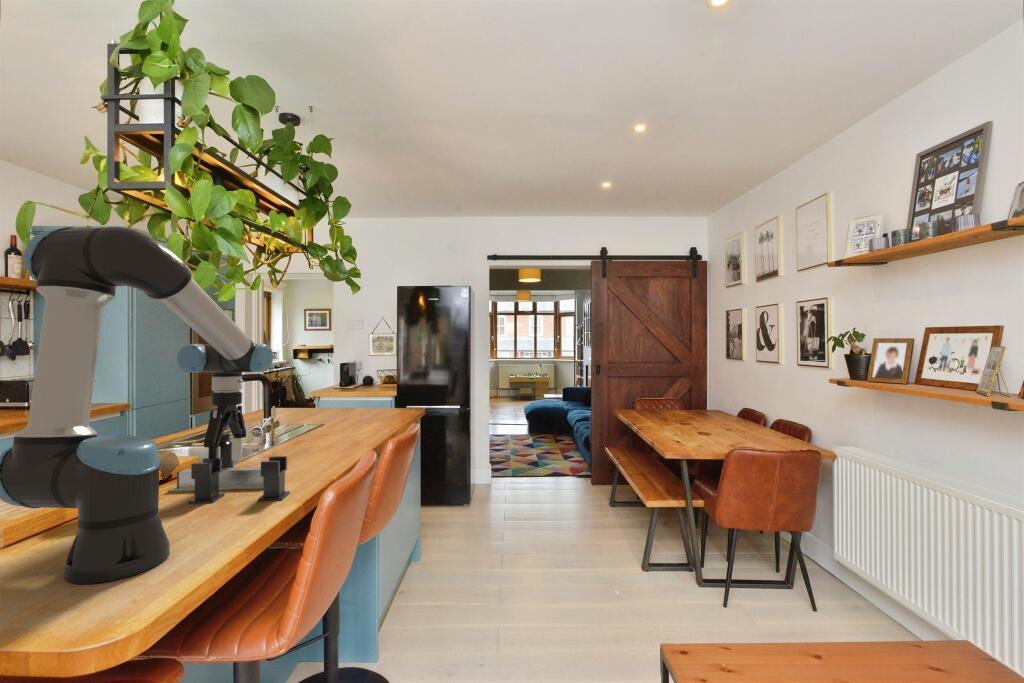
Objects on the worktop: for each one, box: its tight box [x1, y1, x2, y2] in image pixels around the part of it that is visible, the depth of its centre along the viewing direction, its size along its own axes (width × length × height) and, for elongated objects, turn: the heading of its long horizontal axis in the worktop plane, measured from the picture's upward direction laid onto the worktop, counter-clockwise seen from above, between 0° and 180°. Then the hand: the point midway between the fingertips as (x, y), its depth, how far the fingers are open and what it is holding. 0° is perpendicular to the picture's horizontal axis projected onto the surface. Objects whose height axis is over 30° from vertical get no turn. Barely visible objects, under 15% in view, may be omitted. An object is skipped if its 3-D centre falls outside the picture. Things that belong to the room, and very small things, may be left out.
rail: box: [176, 466, 263, 488], centre depth 139 cm, size 4×25×4 cm, turn 96°
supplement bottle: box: [218, 432, 234, 468], centre depth 155 cm, size 7×7×12 cm
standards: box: [188, 455, 291, 504], centre depth 128 cm, size 6×23×10 cm, turn 96°
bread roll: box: [158, 451, 180, 480], centre depth 146 cm, size 10×15×8 cm, turn 18°
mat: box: [167, 485, 263, 493], centre depth 139 cm, size 7×28×1 cm, turn 96°
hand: (226, 465), depth 138 cm, fingers open, 13 cm apart
